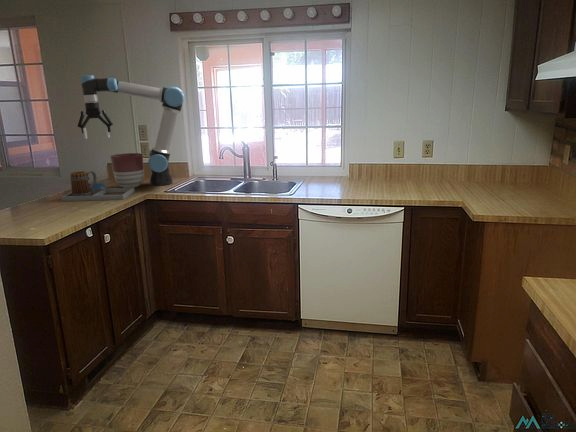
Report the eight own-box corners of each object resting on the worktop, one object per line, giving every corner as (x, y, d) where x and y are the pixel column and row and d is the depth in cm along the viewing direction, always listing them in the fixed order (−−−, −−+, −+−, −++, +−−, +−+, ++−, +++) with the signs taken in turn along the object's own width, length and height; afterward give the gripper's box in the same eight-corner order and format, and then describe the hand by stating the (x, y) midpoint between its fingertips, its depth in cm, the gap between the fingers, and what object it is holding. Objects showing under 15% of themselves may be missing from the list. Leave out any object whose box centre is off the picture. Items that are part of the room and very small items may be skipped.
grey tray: (135, 191, 267) (133, 182, 265) (123, 199, 246) (122, 189, 244) (78, 193, 266) (77, 183, 264) (62, 201, 245) (60, 190, 243)
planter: (134, 191, 266) (130, 157, 261) (108, 190, 272) (103, 156, 266) (152, 185, 284) (148, 153, 279) (127, 184, 290) (123, 153, 284)
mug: (78, 200, 247) (74, 174, 243) (68, 198, 253) (64, 173, 249) (103, 195, 259) (99, 170, 255) (93, 193, 265) (89, 169, 261)
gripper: (114, 101, 259) (120, 136, 265) (72, 103, 258) (79, 138, 264) (110, 101, 252) (116, 137, 258) (67, 103, 251) (74, 139, 256)
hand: (97, 138), depth 261 cm, fingers open, 13 cm apart
